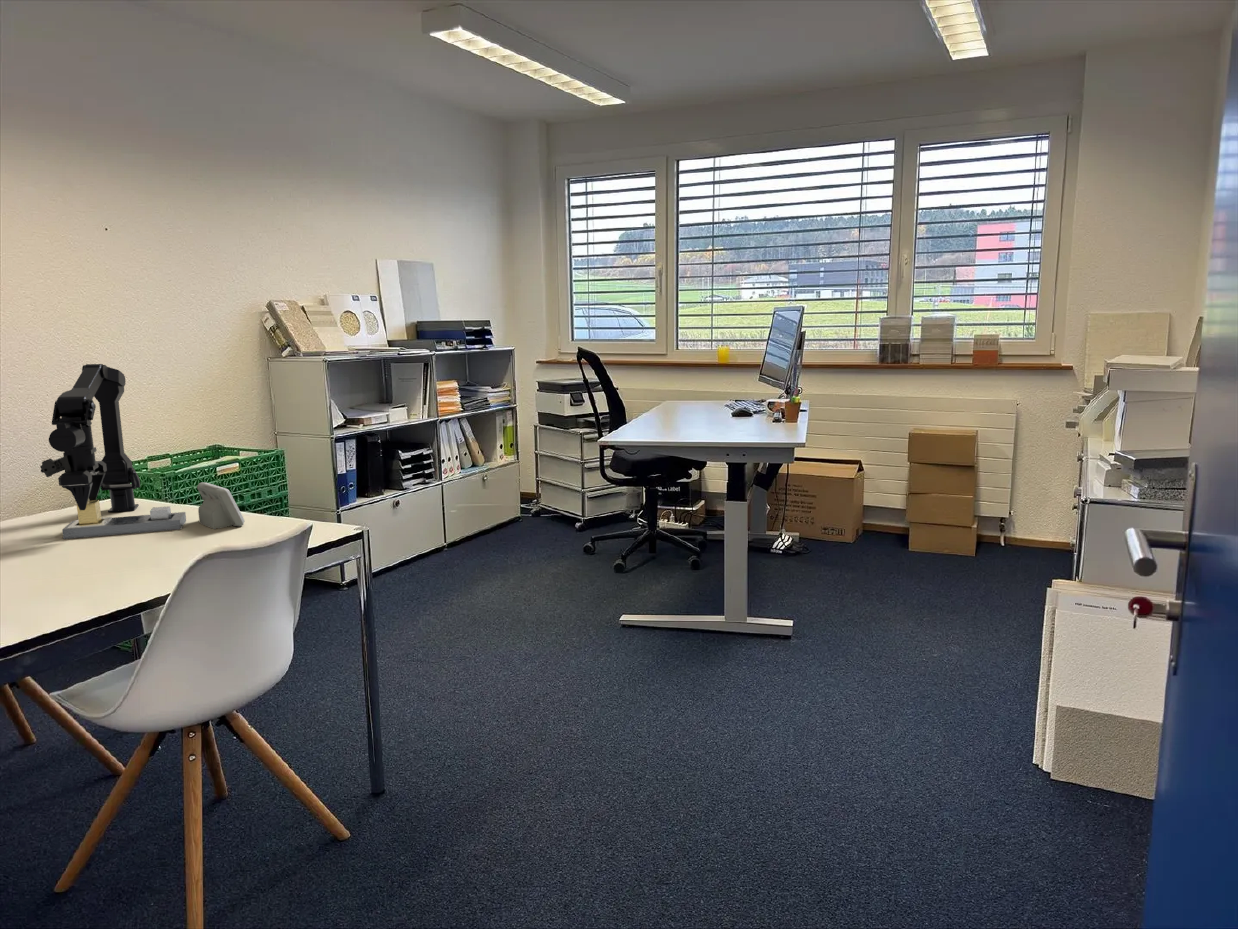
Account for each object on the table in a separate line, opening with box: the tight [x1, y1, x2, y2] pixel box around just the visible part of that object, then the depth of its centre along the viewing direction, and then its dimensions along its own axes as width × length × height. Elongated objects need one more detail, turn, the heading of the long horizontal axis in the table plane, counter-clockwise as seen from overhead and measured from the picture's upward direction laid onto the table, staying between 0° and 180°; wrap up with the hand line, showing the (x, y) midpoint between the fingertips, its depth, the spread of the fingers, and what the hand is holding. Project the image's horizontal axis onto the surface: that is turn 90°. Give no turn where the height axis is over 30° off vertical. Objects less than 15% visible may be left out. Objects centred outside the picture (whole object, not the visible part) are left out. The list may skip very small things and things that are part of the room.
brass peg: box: [76, 499, 102, 525], centre depth 205 cm, size 4×4×8 cm
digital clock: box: [196, 481, 245, 530], centre depth 213 cm, size 16×9×11 cm, turn 38°
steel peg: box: [149, 505, 172, 521], centre depth 211 cm, size 4×4×5 cm
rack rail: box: [62, 511, 187, 540], centre depth 208 cm, size 9×26×3 cm, turn 110°
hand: (87, 506), depth 204 cm, fingers open, 9 cm apart
